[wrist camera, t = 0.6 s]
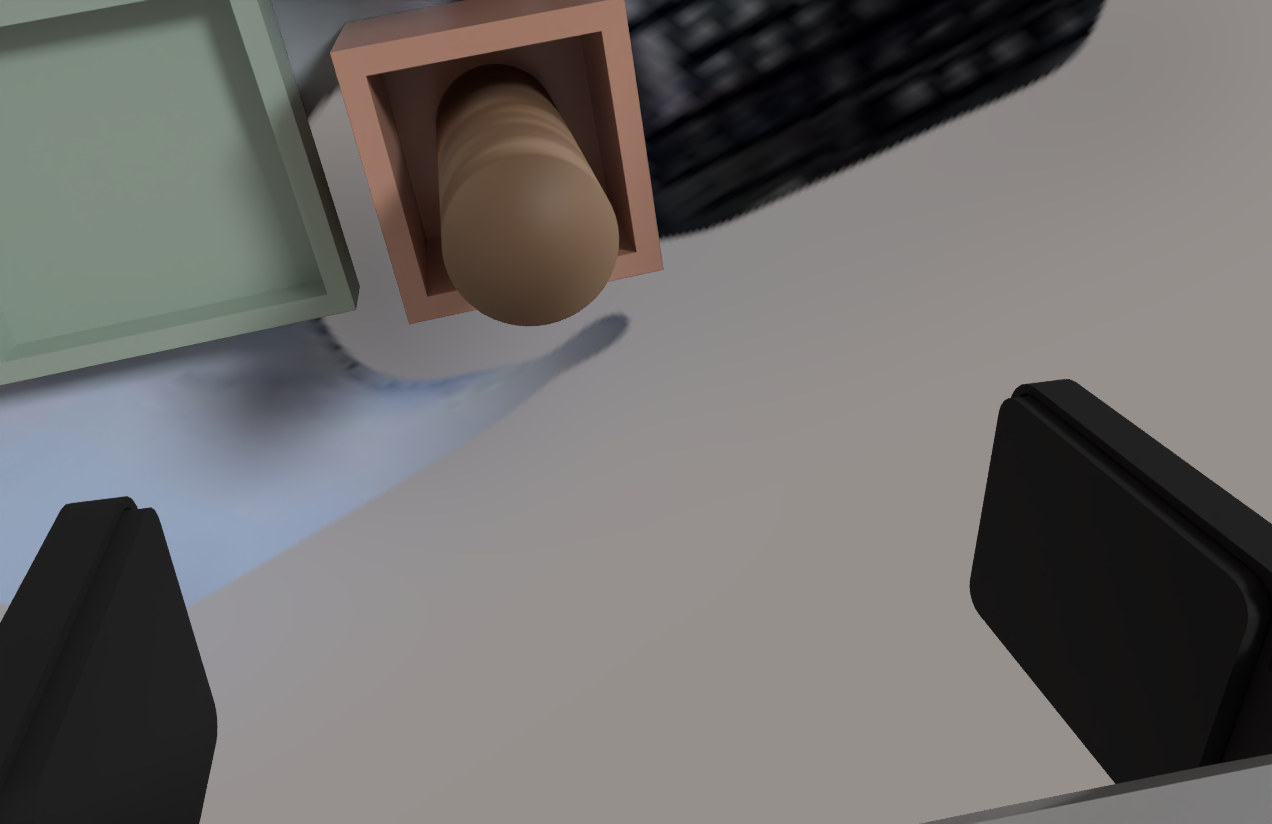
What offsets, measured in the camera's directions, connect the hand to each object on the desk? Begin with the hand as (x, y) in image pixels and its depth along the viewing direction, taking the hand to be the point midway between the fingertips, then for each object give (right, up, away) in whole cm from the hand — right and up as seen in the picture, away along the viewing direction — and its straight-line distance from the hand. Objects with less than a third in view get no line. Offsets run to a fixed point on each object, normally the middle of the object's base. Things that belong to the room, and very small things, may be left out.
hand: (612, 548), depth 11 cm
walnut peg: (-5, +12, +25) cm, 28 cm away
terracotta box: (-5, +12, +25) cm, 28 cm away
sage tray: (-18, +10, +24) cm, 31 cm away
